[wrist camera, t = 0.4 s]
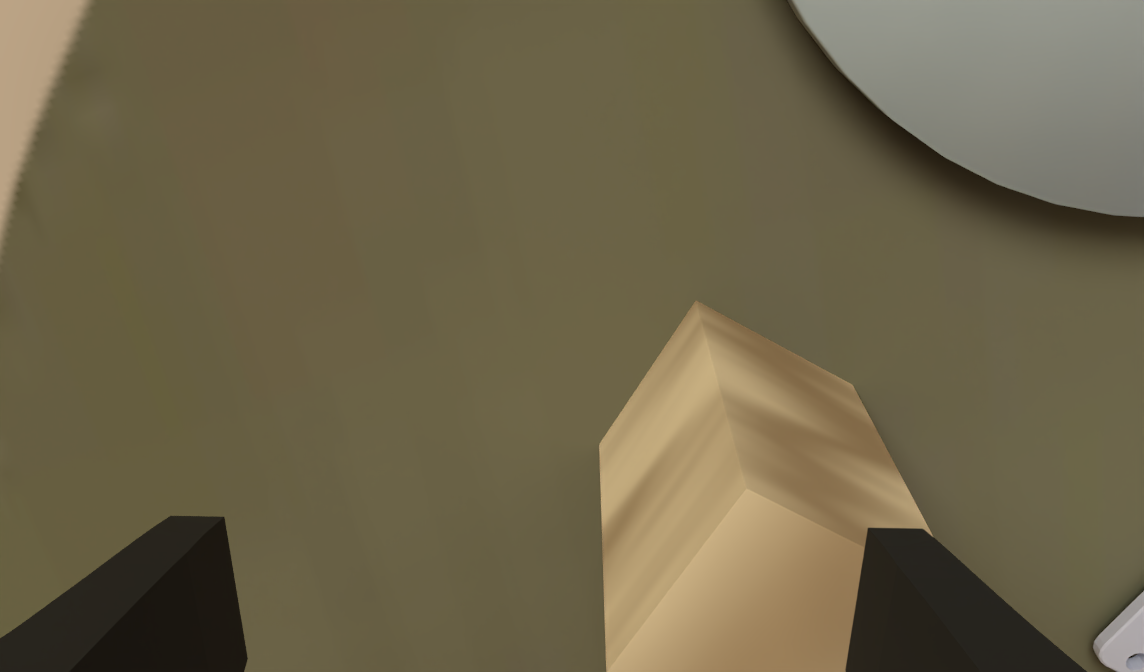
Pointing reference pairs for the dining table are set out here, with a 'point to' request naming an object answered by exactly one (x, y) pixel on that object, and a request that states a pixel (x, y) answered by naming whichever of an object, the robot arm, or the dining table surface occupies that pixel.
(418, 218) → the dining table surface
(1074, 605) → the dining table surface
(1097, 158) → the dish
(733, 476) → the block
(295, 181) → the dining table surface
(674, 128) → the dining table surface
